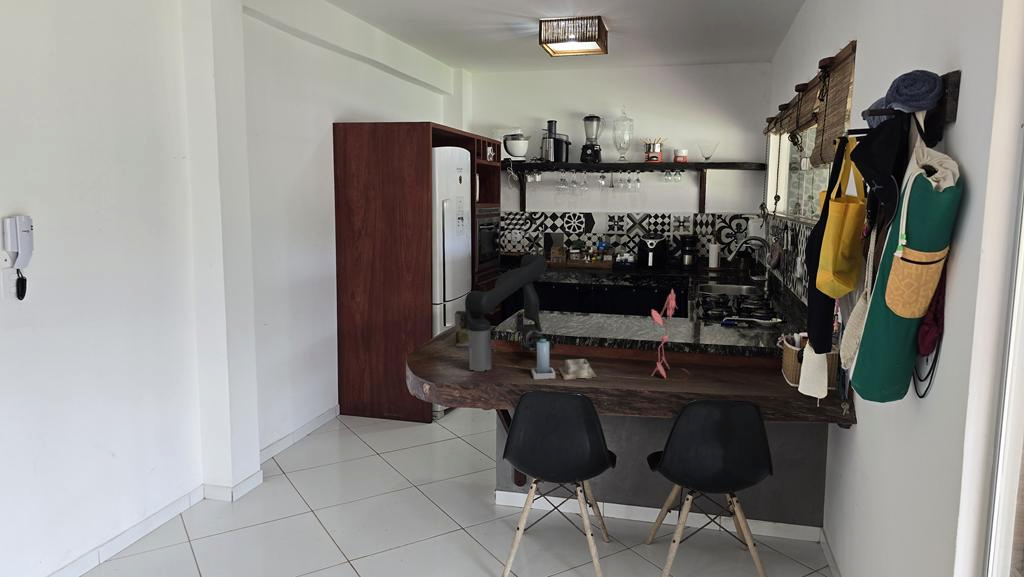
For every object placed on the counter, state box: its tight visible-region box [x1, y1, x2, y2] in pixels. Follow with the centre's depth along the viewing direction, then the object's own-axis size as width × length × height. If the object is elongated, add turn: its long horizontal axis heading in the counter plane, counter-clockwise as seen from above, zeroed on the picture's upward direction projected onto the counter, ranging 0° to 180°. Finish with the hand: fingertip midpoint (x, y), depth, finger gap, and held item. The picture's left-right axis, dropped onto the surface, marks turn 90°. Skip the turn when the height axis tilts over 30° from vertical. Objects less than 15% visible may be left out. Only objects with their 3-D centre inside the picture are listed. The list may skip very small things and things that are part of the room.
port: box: [558, 358, 597, 380], centre depth 290 cm, size 13×13×5 cm
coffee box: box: [454, 310, 469, 347], centre depth 341 cm, size 9×6×16 cm
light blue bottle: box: [536, 338, 550, 374], centre depth 288 cm, size 5×5×15 cm
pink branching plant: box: [646, 288, 690, 381], centre depth 284 cm, size 15×26×35 cm, turn 157°
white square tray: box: [531, 367, 556, 380], centre depth 289 cm, size 9×9×2 cm
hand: (539, 349), depth 299 cm, fingers open, 8 cm apart
